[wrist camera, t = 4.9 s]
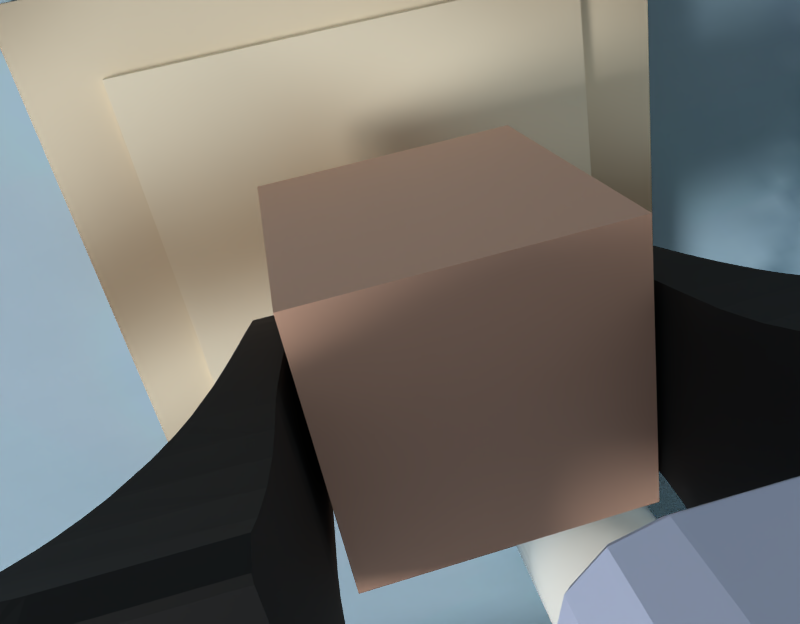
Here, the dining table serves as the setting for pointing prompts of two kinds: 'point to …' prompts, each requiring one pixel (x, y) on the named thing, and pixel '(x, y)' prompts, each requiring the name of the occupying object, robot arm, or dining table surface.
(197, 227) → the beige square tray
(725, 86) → the dining table surface
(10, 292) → the dining table surface
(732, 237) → the dining table surface
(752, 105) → the dining table surface
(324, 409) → the terracotta cube
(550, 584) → the white rounded block
